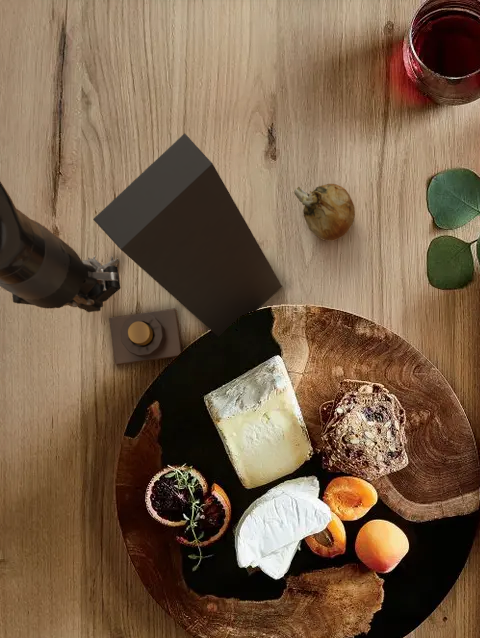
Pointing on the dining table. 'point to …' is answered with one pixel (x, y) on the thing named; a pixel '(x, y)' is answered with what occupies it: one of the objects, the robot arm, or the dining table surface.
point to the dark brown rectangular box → (191, 237)
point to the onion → (327, 211)
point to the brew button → (140, 333)
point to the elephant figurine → (97, 265)
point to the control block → (159, 347)
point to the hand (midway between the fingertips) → (94, 303)
